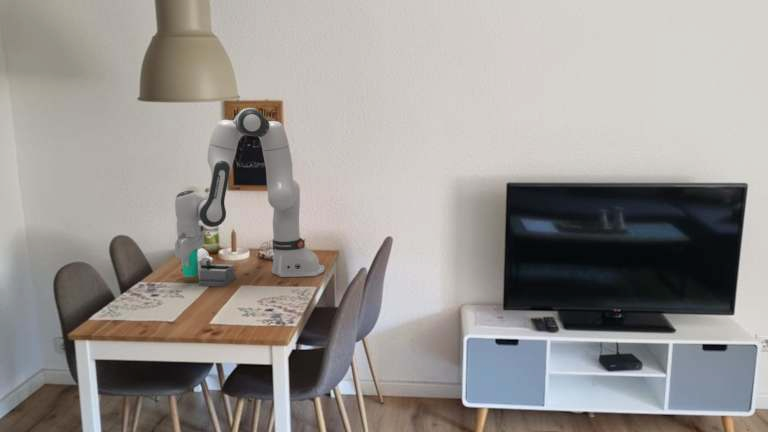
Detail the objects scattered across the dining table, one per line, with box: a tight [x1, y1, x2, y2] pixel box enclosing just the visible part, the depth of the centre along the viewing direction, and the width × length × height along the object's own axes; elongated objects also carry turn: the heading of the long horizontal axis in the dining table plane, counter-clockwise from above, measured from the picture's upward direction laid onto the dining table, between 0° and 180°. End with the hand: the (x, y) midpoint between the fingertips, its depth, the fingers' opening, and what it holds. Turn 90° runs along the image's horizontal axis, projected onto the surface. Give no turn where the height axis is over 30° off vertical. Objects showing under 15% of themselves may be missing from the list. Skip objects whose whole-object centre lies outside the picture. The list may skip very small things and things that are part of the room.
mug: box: [181, 247, 214, 266], centre depth 325 cm, size 12×10×8 cm
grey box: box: [198, 263, 237, 288], centre depth 305 cm, size 11×12×6 cm
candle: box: [182, 249, 199, 278], centre depth 306 cm, size 6×6×12 cm
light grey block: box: [198, 258, 211, 280], centre depth 305 cm, size 9×6×7 cm, turn 80°
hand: (191, 263), depth 306 cm, fingers closed on candle, 5 cm apart
